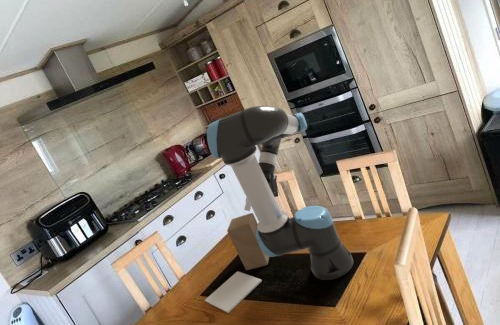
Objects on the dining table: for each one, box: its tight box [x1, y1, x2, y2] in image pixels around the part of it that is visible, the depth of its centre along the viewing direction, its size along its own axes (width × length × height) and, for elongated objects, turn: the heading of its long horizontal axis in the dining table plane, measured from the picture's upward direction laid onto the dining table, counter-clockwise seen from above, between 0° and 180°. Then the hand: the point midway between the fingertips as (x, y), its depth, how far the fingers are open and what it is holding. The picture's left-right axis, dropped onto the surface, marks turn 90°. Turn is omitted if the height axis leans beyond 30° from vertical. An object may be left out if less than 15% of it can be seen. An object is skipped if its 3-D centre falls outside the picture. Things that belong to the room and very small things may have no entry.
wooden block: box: [226, 212, 270, 271], centre depth 155 cm, size 10×10×20 cm
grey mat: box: [204, 271, 263, 314], centre depth 144 cm, size 16×18×1 cm
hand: (256, 211), depth 158 cm, fingers open, 13 cm apart
